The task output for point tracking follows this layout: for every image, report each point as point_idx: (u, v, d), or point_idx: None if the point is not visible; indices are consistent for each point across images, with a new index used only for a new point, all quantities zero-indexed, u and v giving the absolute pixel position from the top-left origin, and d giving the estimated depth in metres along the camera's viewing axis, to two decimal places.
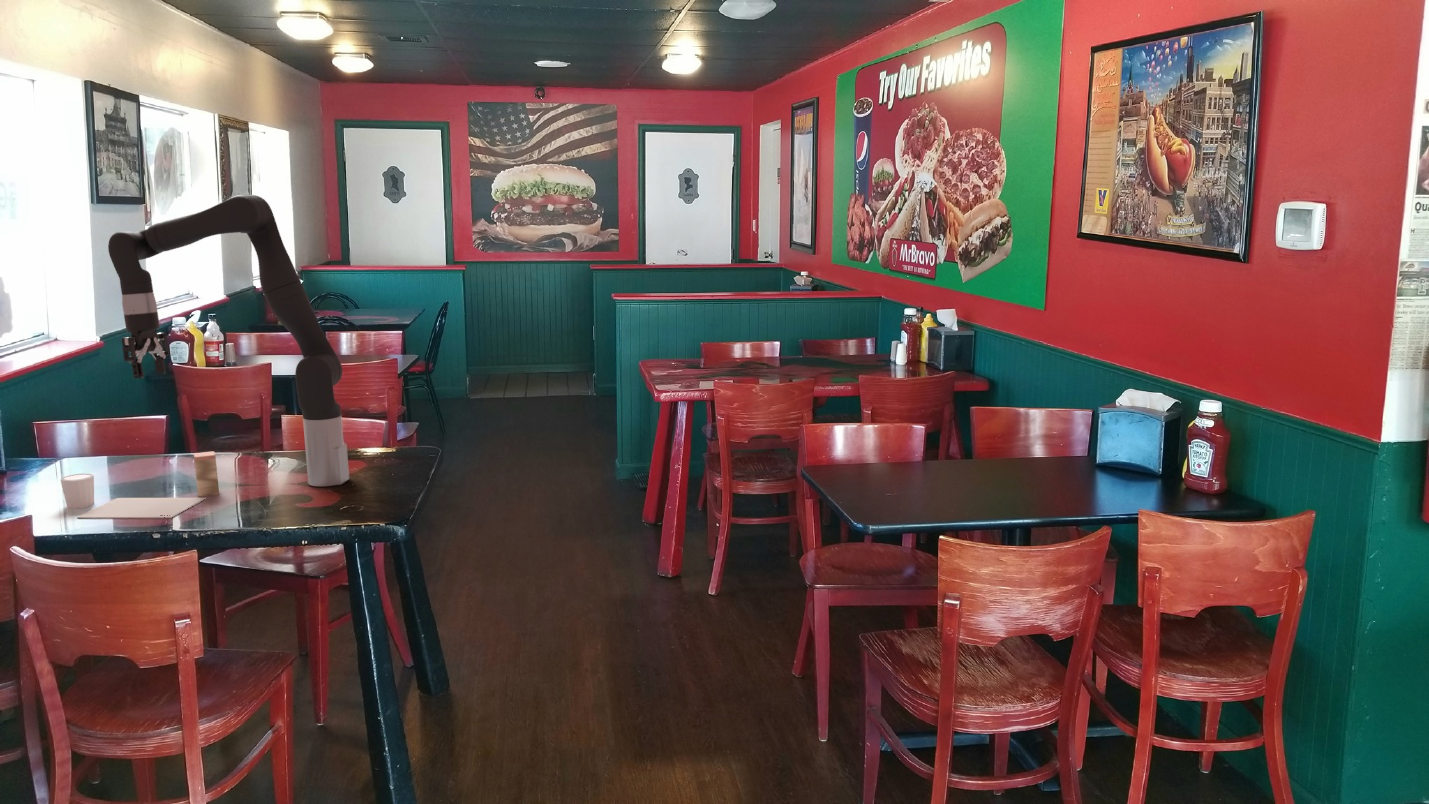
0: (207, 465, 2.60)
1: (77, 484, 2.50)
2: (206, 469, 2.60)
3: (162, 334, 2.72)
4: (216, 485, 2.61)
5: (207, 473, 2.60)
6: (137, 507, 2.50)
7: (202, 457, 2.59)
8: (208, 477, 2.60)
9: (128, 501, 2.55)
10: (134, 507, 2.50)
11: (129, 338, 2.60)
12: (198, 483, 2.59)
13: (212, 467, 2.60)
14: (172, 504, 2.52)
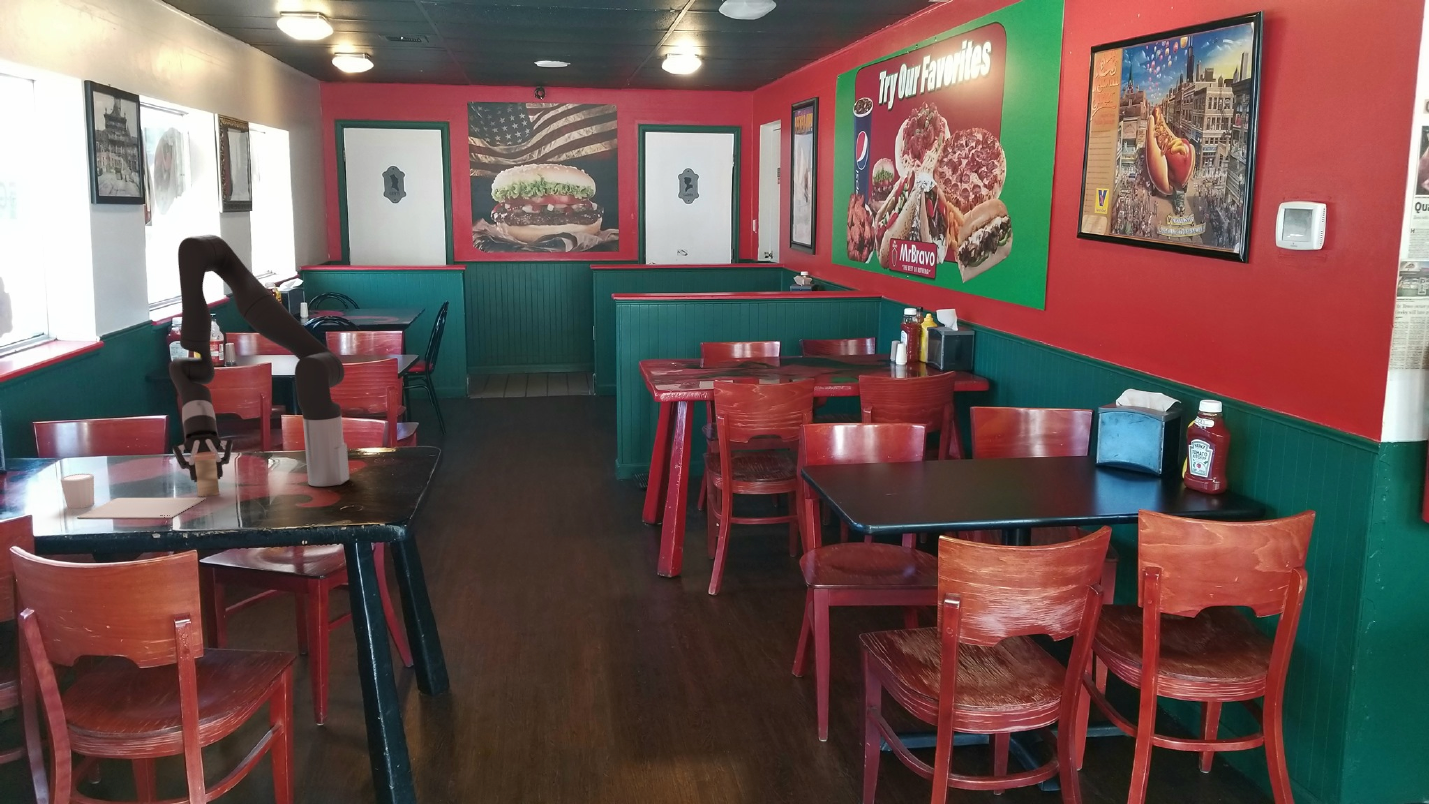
0: (207, 465, 2.60)
1: (77, 484, 2.50)
2: (206, 469, 2.60)
3: None
4: (216, 485, 2.61)
5: (207, 473, 2.60)
6: (137, 507, 2.50)
7: (202, 457, 2.59)
8: (208, 477, 2.60)
9: (128, 501, 2.55)
10: (134, 507, 2.50)
11: (173, 447, 2.61)
12: (198, 483, 2.59)
13: (212, 467, 2.60)
14: (172, 504, 2.52)
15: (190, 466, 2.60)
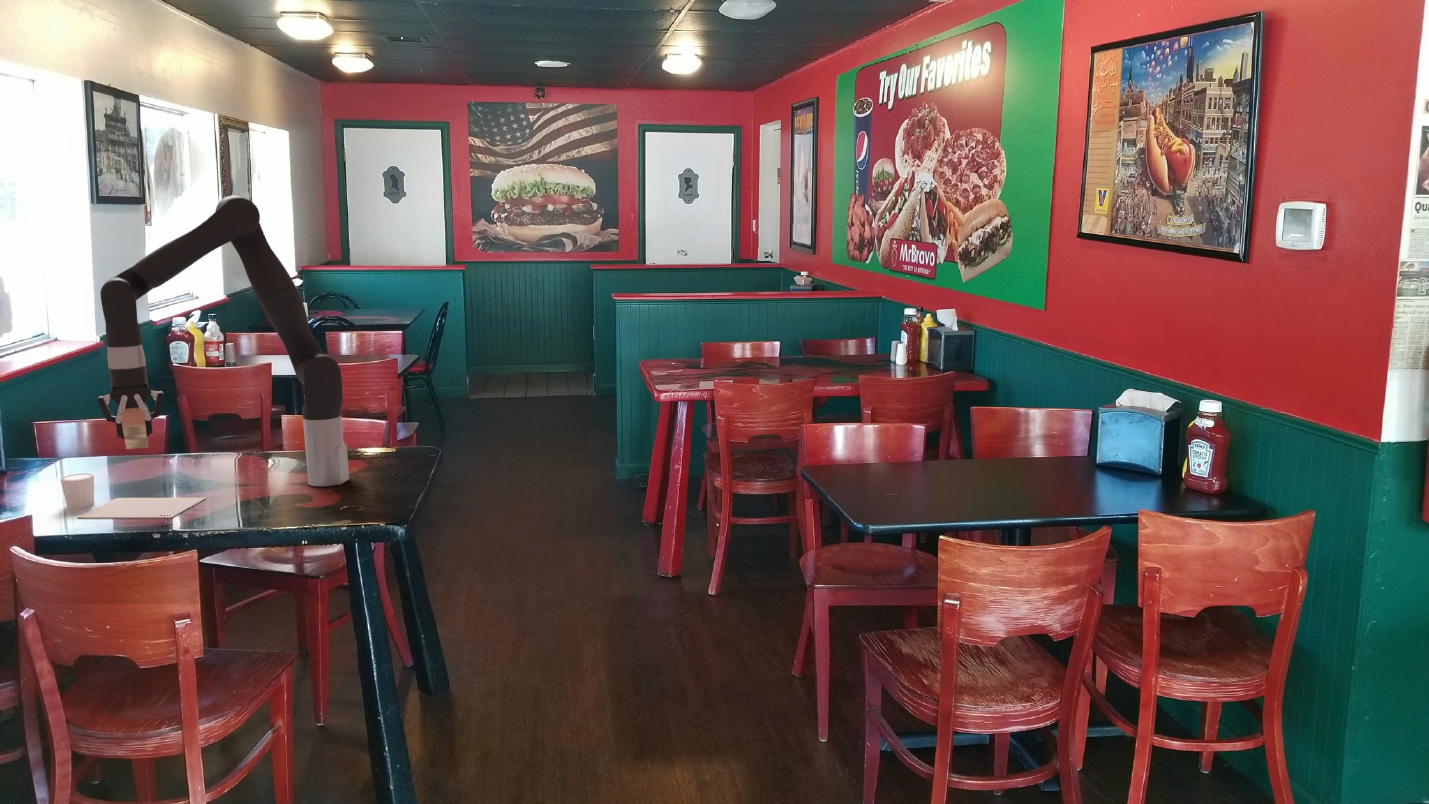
0: (136, 430, 2.45)
1: (77, 484, 2.50)
2: (135, 432, 2.46)
3: None
4: (145, 441, 2.50)
5: (136, 434, 2.47)
6: (137, 507, 2.50)
7: (130, 425, 2.43)
8: (137, 437, 2.48)
9: (128, 501, 2.55)
10: (134, 507, 2.50)
11: None
12: (126, 441, 2.47)
13: (141, 431, 2.46)
14: (172, 504, 2.52)
15: (117, 423, 2.45)
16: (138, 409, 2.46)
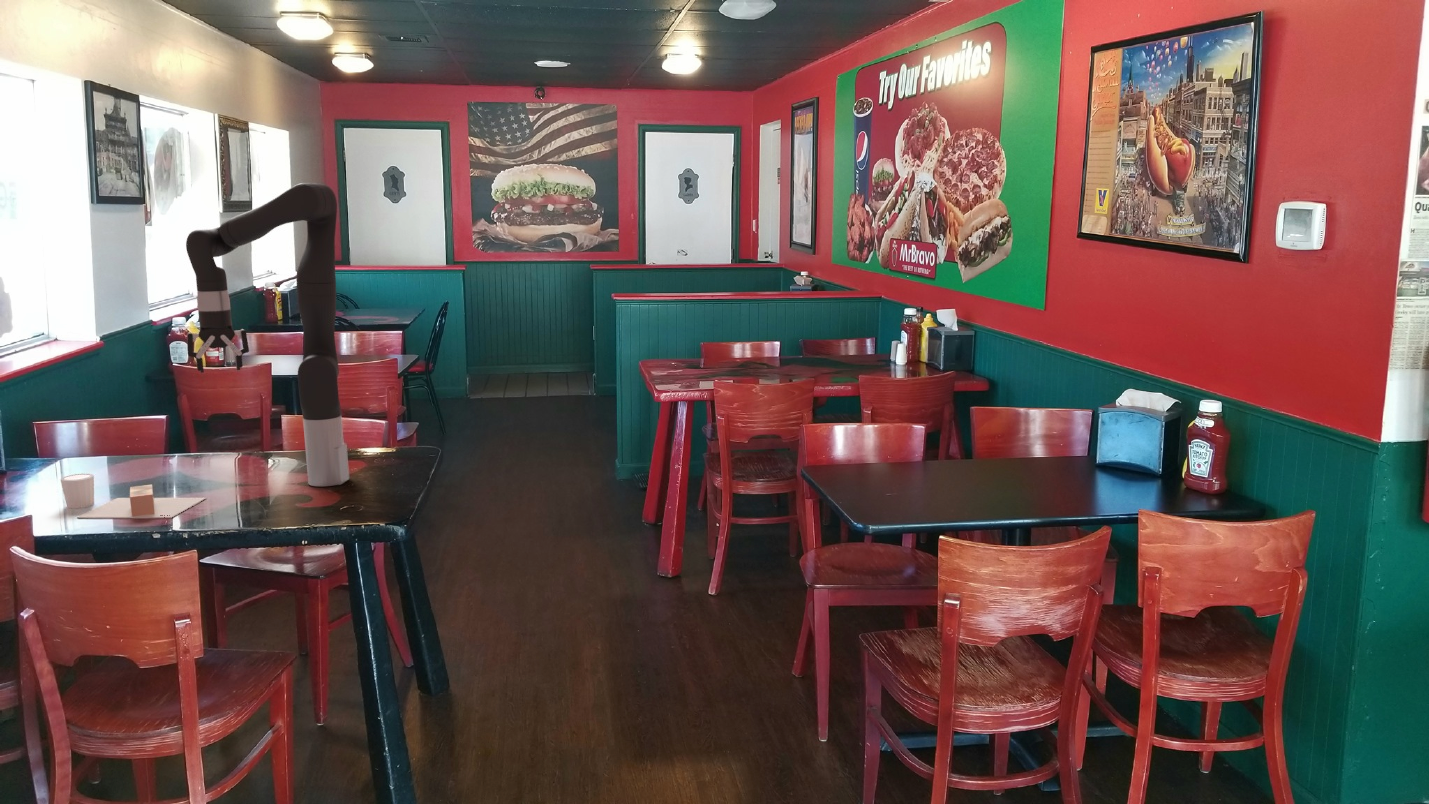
0: None
1: (77, 484, 2.50)
2: None
3: (241, 331, 2.73)
4: None
5: None
6: None
7: None
8: None
9: (128, 501, 2.55)
10: None
11: (187, 334, 2.68)
12: None
13: None
14: (172, 504, 2.52)
15: (196, 358, 2.69)
16: (147, 497, 2.44)
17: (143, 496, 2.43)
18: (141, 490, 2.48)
